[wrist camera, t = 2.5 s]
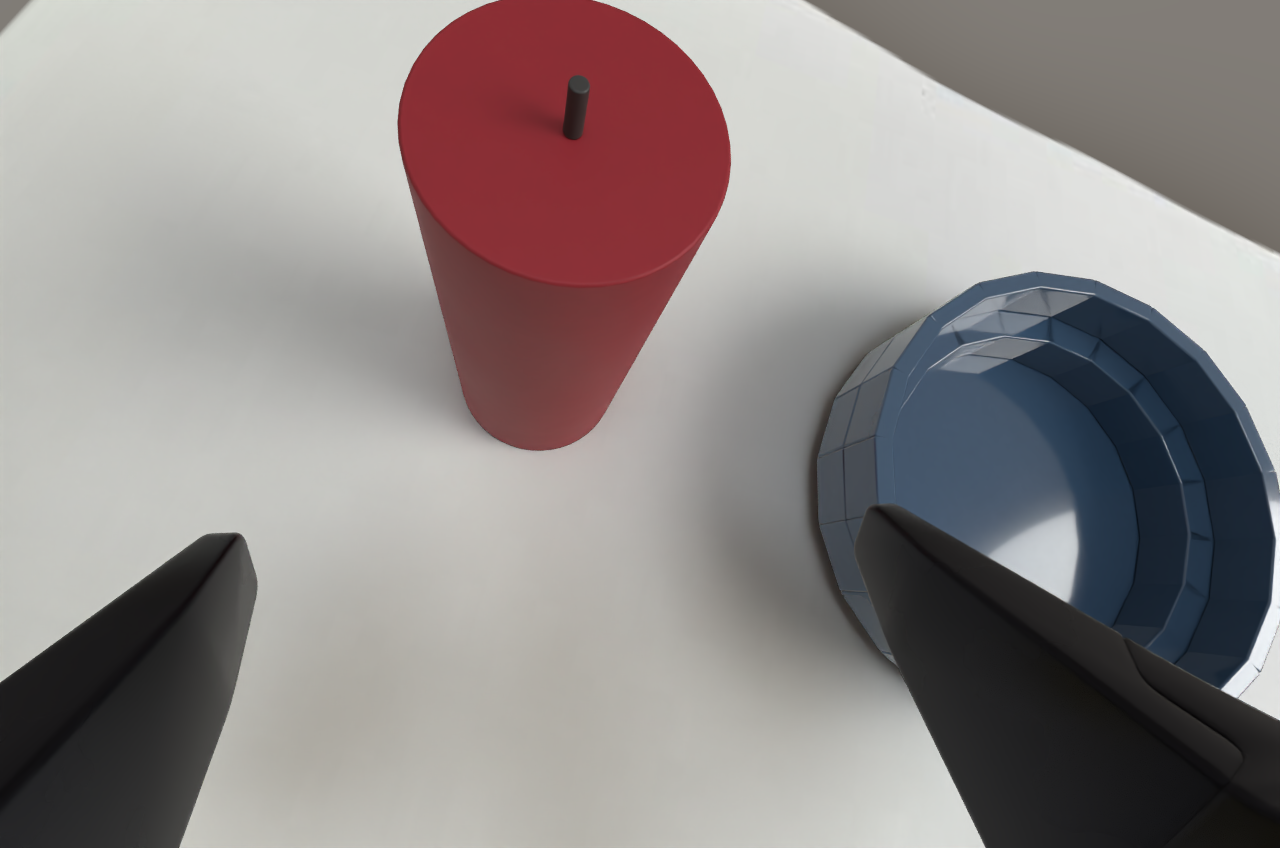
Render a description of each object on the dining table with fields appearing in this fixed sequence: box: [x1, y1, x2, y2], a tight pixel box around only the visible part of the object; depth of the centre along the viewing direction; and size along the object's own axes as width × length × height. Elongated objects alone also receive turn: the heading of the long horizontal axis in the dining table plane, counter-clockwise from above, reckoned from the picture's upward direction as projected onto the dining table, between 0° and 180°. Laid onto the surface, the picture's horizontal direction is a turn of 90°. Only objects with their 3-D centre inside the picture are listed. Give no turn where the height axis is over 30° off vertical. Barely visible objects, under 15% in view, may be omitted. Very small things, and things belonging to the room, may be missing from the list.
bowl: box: [817, 272, 1280, 699], centre depth 22 cm, size 14×14×4 cm
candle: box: [398, 0, 731, 451], centre depth 15 cm, size 5×5×14 cm
